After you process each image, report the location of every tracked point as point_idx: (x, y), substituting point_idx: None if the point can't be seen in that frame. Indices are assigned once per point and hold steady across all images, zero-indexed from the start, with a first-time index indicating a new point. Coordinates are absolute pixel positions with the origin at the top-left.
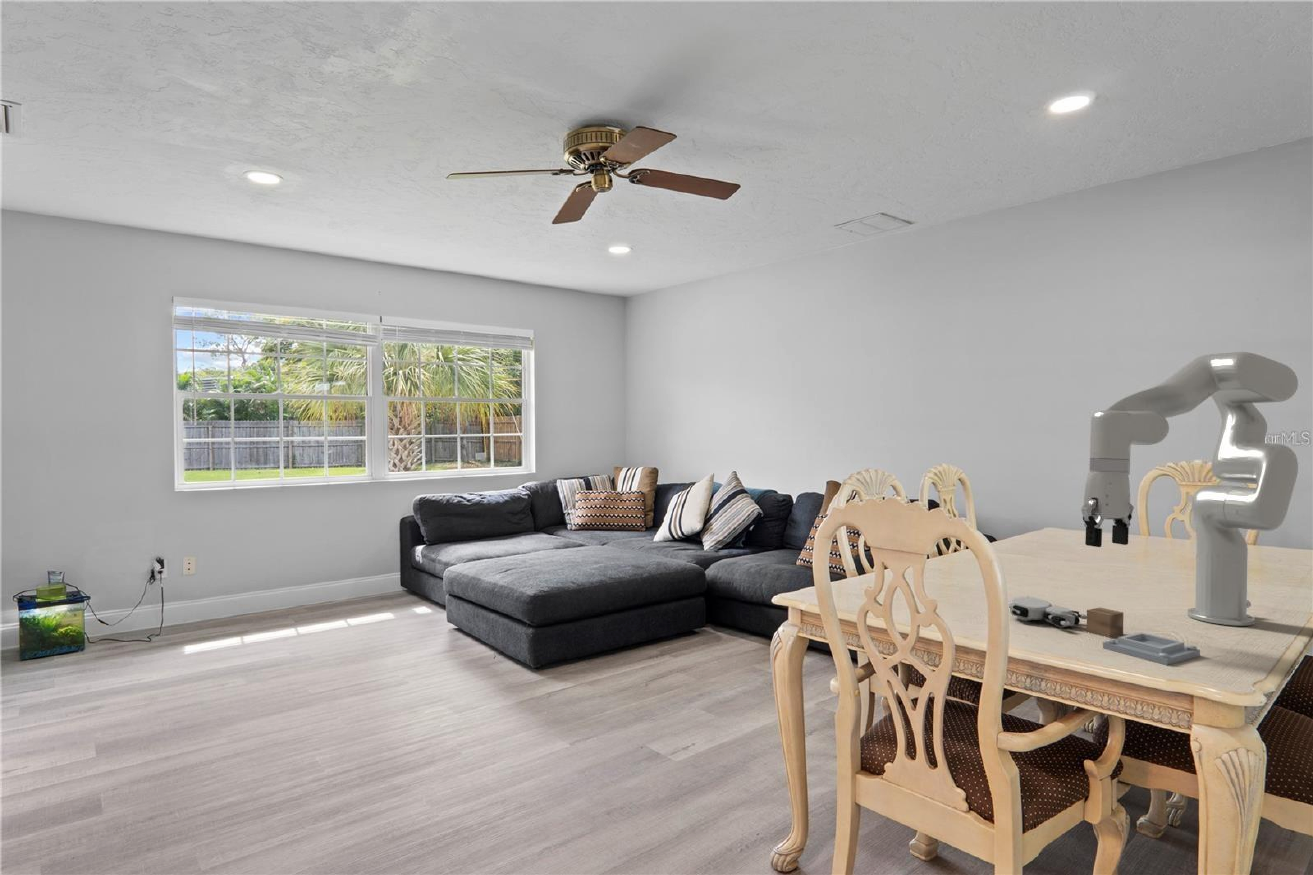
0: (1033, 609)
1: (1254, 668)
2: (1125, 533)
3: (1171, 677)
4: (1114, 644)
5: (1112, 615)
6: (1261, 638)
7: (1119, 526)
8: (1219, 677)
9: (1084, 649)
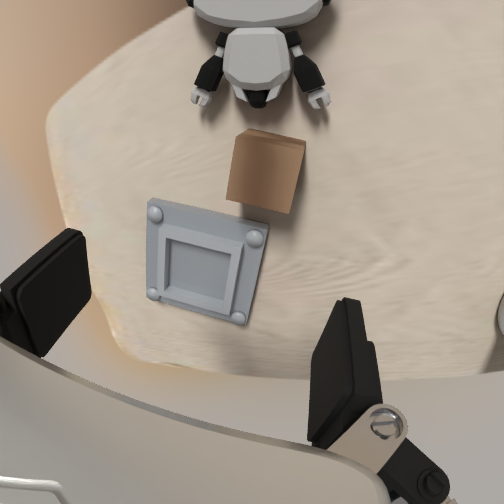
0: (199, 13)
1: (243, 366)
2: (311, 408)
3: (109, 300)
4: (150, 221)
5: (237, 201)
6: (439, 357)
7: (335, 421)
8: (161, 339)
9: (118, 179)
